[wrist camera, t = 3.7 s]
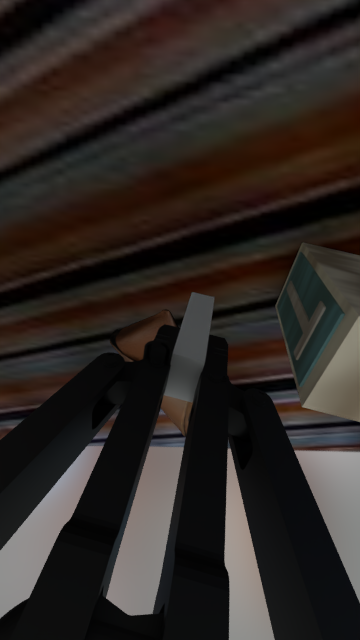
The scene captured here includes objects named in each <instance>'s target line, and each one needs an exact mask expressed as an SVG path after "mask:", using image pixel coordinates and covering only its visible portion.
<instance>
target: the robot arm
mask: <svg viewBox="0 0 360 640" xmlns="http://www.w3.org/2000/svg"><path fill="white" fill-rule="evenodd" d="M214 298H215V297H211V296H207V295H202V294H198V293H194V292H192V294H191V297H190V300H189V303H188V306H187V310H186V313H185V316H184V319H183V322H182V325H181V328H178V327H174V326H171V325H167V324H164V325H163V326H161V327H160V328H159V329H158V332H157V334H156V336H155V339H154V340H152V341H150V342H147V343H146V345H145V347H144V354H143V359H142V360H139V361H133V362H128V361H125V360H124V358H123V357H122V356H121V355H119V354H116V353H104V354H101V355H100V356H98V357H97V358H96V359H95V360H93V361H92V362H91V363H90V364H89V365H88V366H86V367H85V368H84V369H83V370H82V371H81V372H79V373H78V374H77V375H76V376H75V377H74V378H72V379H71V380H70V381H69V382H68V383H67V384H65V385H64V386H63V387H62V388H61V389H60V390H58V391H57V392H56V393H55V394H54V395H53V396H51V397H50V398H49V399H48V400H47V401H46V402H44V403H43V404H42V405H41V406H40V407H39V408H37V409H36V410H35V411H34V412H33V413H32V414H30V415H29V416H28V417H27V418H26V419H24V420H23V421H22V422H21V423H20V424H19V425H17V426H16V427H15V428H14V429H13V430H12V431H10V432H9V433H8V434H7V435H6V436H5V437H3V438H2V439H1V440H0V550H1V549H2V548H3V546H4V545H5V544H6V543H7V541H8V540H9V539H10V538H11V537H12V536H13V534H14V533H15V532H16V531H17V530H18V528H19V527H20V526H21V525H22V524H23V522H24V521H25V520H26V519H27V518H28V516H29V515H30V514H31V513H32V511H33V510H34V509H35V508H36V507H37V505H38V504H39V503H40V502H41V501H42V499H43V498H44V497H45V496H46V494H47V493H48V492H49V491H50V490H51V488H52V487H53V486H54V485H55V484H56V483H57V481H58V480H59V479H60V478H61V476H62V475H63V474H64V473H65V472H66V470H67V469H68V468H69V467H70V466H71V464H72V463H73V462H74V461H75V460H76V458H77V457H78V456H79V455H80V454H81V452H82V451H83V450H84V449H85V447H86V446H87V445H88V444H89V443H90V441H91V440H92V439H93V438H94V437H95V435H96V434H97V433H98V432H99V431H100V429H101V428H102V427H103V426H104V425H105V423H106V422H107V421H108V420H109V419H110V417H111V416H112V415H113V414H114V413H115V411H116V410H117V409H118V408H119V406H120V404H122V406H121V409H120V411H119V413H118V415H117V418H116V420H115V422H114V424H113V427H112V429H111V431H110V433H109V435H108V438H107V440H106V442H105V444H104V447H103V449H102V451H101V453H100V456H99V458H98V460H97V462H96V464H95V467H94V469H93V471H92V473H91V476H90V478H89V480H88V482H87V485H86V487H85V489H84V491H83V494H82V496H81V498H80V500H79V502H78V504H77V507H76V509H75V511H74V513H73V515H72V517H71V519H70V520H69V521H68V522H67V523H66V524H65V525H64V527H63V528H62V530H61V531H60V533H59V535H58V537H57V539H56V541H55V543H54V546H53V548H52V550H51V552H50V554H49V556H48V559H47V561H46V563H45V565H44V567H43V569H42V572H41V574H40V576H39V578H38V580H37V582H36V585H35V587H34V589H33V591H32V593H31V595H30V597H29V598H28V599H27V600H25V601H23V602H21V603H20V604H19V605H17V606H15V607H14V608H13V609H11V610H10V611H9V612H7V613H6V614H5V615H4V616H3V617H1V619H0V640H229V576H228V572H227V569H226V567H225V563H224V549H225V547H224V546H225V515H226V483H227V482H226V481H227V450H228V439H229V443H230V447H231V452H232V456H233V460H234V464H235V469H236V473H237V478H238V482H239V486H240V490H241V495H242V499H243V504H244V508H245V512H246V517H247V521H248V525H249V530H250V534H251V538H252V543H253V547H254V551H255V556H256V560H257V564H258V568H259V573H260V577H261V582H262V586H263V590H264V594H265V599H266V604H267V608H268V612H269V616H270V621H271V625H272V630H273V634H274V638H275V640H360V603H359V600H358V598H357V596H356V594H355V591H354V589H353V586H352V584H351V582H350V580H349V577H348V575H347V573H346V570H345V568H344V566H343V563H342V561H341V559H340V556H339V554H338V552H337V549H336V547H335V545H334V542H333V540H332V538H331V535H330V533H329V531H328V529H327V526H326V524H325V522H324V519H323V517H322V515H321V512H320V510H319V508H318V505H317V503H316V501H315V499H314V496H313V494H312V491H311V489H310V487H309V484H308V482H307V480H306V477H305V475H304V473H303V471H302V468H301V466H300V464H299V461H298V459H297V457H296V454H295V452H294V450H293V447H292V445H291V443H290V440H289V438H288V436H287V433H286V431H285V429H284V426H283V424H282V422H281V419H280V417H279V415H278V413H277V410H276V408H275V406H274V403H273V401H272V399H271V398H270V396H268V395H267V394H266V393H265V392H263V391H261V390H258V389H248V390H247V391H245V392H244V391H242V390H240V389H238V388H237V387H235V386H234V385H233V384H231V382H230V381H229V377H228V376H227V362H228V344H227V342H226V340H225V338H221V337H217V336H213V335H209V332H210V325H211V318H212V311H213V305H214ZM164 395H166V396H169V397H173V398H177V399H181V400H184V401H188V402H192V403H193V405H192V408H191V411H190V414H189V418H188V421H189V422H188V428H187V434H186V439H185V445H184V451H183V456H182V461H181V467H180V473H179V478H178V484H177V489H176V495H175V501H174V506H173V512H172V517H171V524H170V528H169V535H168V540H167V545H166V551H165V557H164V562H163V568H162V573H161V578H160V584H159V588H158V592H157V596H156V600H155V605H154V610H153V614H148V615H135V616H130V615H127V614H126V613H124V612H123V611H122V610H120V609H119V608H118V607H117V606H115V605H114V604H112V603H111V602H110V601H109V600H108V599H106V595H107V592H108V588H109V584H110V581H111V576H112V573H113V569H114V565H115V562H116V558H117V555H118V551H119V548H120V544H121V541H122V537H123V534H124V531H125V528H126V524H127V521H128V517H129V514H130V511H131V507H132V503H133V500H134V497H135V493H136V490H137V486H138V483H139V480H140V476H141V473H142V469H143V466H144V463H145V459H146V456H147V452H148V449H149V446H150V442H151V439H152V435H153V432H154V428H155V425H156V422H157V418H158V415H159V411H160V408H161V405H162V400H163V396H164Z"/></svg>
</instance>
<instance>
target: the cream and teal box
mask: <svg viewBox="0 0 360 640" xmlns="http://www.w3.org/2000/svg"><path fill="white" fill-rule="evenodd" d="M275 307H276V311H277V315H278V318H279V322H280V326H281V330H282V333H283V337H284V341H285V345H286V348H287V352H288V356H289V360H290V364H291V367H292V371H293V375H294V379H295V382H296V386H297V390H298V394H299V397H300V401H301V405H302V407H304V408H308V409H312V410H316V411H320V412H324V413H327V414H331V415H335V416H339V417H343V418H347V419H351V420H354V421H358V422H360V255H356V254H351V253H347V252H342V251H338V250H334V249H329V248H325V247H321V246H316V245H312V244H308V243H303V242H302V244H301V247H300V249H299V251H298V254H297V256H296V258H295V261H294V263H293V265H292V268H291V270H290V272H289V275H288V277H287V279H286V282H285V284H284V287H283V289H282V291H281V294H280V296H279V298H278V301H277V303H276V305H275Z"/></svg>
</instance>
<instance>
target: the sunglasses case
mask: <svg viewBox="0 0 360 640" xmlns="http://www.w3.org/2000/svg"><path fill="white" fill-rule="evenodd" d="M164 324H167V325H171V326H174V327H177V325H176V323H175V321H174V318H173V316H172V314H171V313H170V311H169V310H162V311H161V312H160V313H158V314H156V315H154V316H151V317H149V318H147V319H144V320H142V321H139V322H137V323H135V324H132V325H130V326H128V327H125V328H123V329H121V330H120V331H119V330H118V329H117V330H116V331H115V332H114V333H113V334H112V335H111V337H110V343H111V345H112V346H113V347H114V348H115V350H117V352H118V353H119V354H120V355H121V356H122V357H123V358H124V360H125V361H128V362H133V361H139V360H142V359H143V354H144V347H145V345H146V343H147V342H150V341H152V340H154V339H155V336H156V334H157V332H158V329H159V328H160V327H161V326H163V325H164ZM192 405H193V403H192V402H188V401H184V400H181V399H177V398H173V397H169V396H166V395H164V396H163V400H162V405H161V409H162V410H163V411H164V413H165V414H166V415H167V416H168V417H169V418H170V419H171V420H172V422H173V423H174V424H175V425H176V426H177V427H178V429H179V430H180V431H181V432H182V434H183V435H184V436H186V434H187V428H188V422H189V421H188V418H189V414H190V411H191V408H192Z"/></svg>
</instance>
